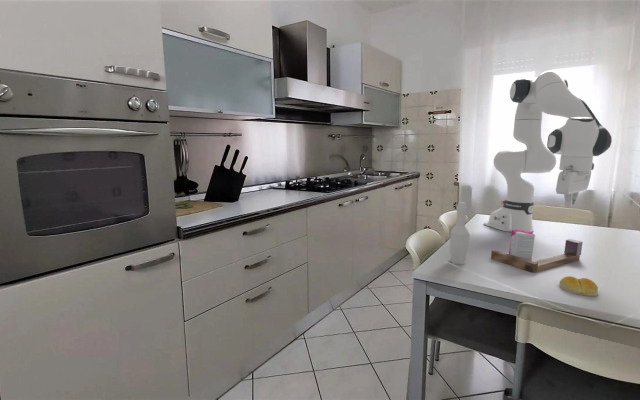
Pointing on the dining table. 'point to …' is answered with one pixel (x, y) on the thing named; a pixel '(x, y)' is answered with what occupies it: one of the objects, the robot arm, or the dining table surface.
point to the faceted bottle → (459, 236)
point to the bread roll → (579, 286)
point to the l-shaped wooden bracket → (570, 255)
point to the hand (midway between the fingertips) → (570, 205)
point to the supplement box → (522, 244)
